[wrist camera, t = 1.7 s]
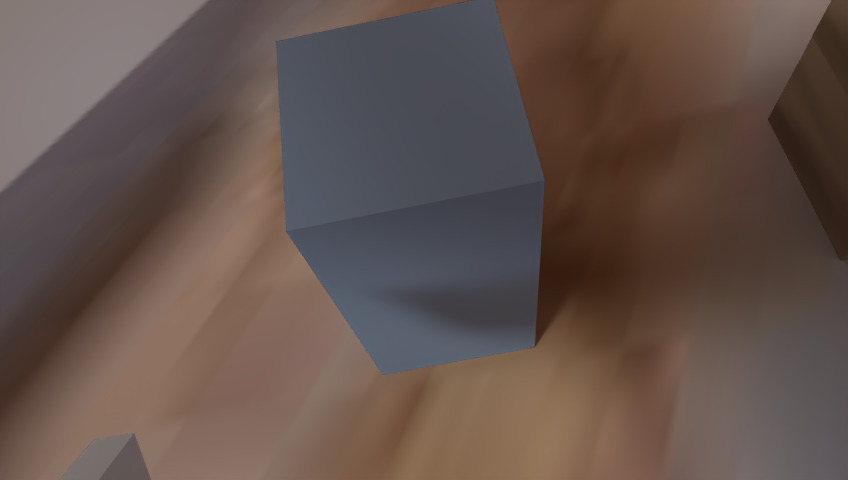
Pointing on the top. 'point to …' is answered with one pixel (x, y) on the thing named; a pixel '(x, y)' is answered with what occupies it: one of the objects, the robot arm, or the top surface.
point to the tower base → (817, 140)
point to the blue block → (415, 183)
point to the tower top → (835, 39)
